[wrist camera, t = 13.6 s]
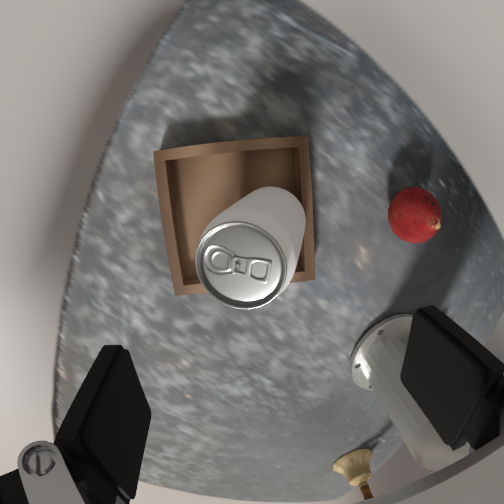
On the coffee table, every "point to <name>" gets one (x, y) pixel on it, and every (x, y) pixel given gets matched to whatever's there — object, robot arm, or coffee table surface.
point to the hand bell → (356, 469)
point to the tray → (227, 194)
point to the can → (252, 248)
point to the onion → (414, 215)
